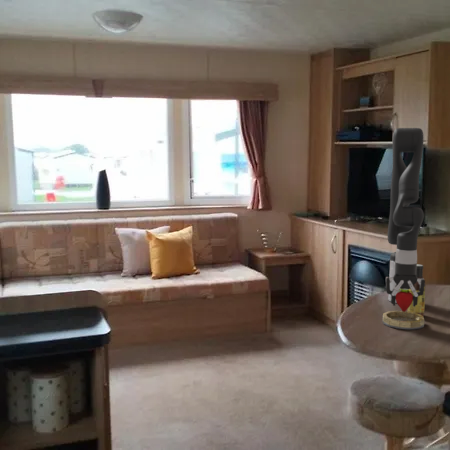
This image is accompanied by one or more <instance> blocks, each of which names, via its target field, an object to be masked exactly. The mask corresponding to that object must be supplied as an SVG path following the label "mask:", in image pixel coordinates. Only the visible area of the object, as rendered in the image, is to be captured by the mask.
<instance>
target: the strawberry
mask: <svg viewBox="0 0 450 450" xmlns="http://www.w3.org/2000/svg"><path fill="white" fill-rule="evenodd" d="M399 290H401V291H398V293H397V294H396V302H397V303H396V304H397V306H398V307H399V308H400V309H401V310H400V311H403V312H405V311H408V308H409V306H410V305H411V303H412V301H413V294H412V293H410V292H411V291H409V290H406V289H405V290H403V289H399Z"/></svg>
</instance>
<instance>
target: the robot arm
mask: <svg viewBox="0 0 450 450" xmlns="http://www.w3.org/2000/svg"><path fill="white" fill-rule="evenodd" d="M423 151H424V131H423V129H422V128H419V127H397V128H395V129H394V130H393V135H392V170H391V171H392V172H391V181H390V182H391V183H390V201H389V202H390V203H389V204H390V205H389V207H390V208H389V217H388V228H387V241H388V243H389V245H393V246H394V245H395V246H396V251H395V252H392V253H391V254H390V256H389V274H388V275H389V276H385V292H386V294H388V299H387V300H388V301H389V302H390V303H391V305H392V306H396V304H397V302H396V294H397V293H398V291H401V290H399V289H403V290H405V289H406V290H408V289H410V288H411V290H412V292H413V294H414V296H413V307H415V305H417V302H418V296H420V295H421V296H422V295H423V292H424V285H425V286H426V280H425V278H424V277H423V278H421V279H419V278H417V277H416V269H417V264H418V249H417V247H418V237H419V233H420V229H421V226H422V224H423V221H424V219H425V218H424V217H425V213H424V210H423V209H422V208H421V207H418V206H417V207H416V206H414V207H413V206H410V204H416V203H417V202H418V200H419V199H420V198H419V195H420V194H419V192H420V188H419V187H420V185H419V184H420V181H419V180H420V172H421V167H422V161H423V160H422V158H423ZM402 153H413V156H412V159H411V161H410V162H409V164H408V165H407V166H406V164H405V162H404V160H403V156H402ZM417 281H418V283H419V285H420V288H419V292H416V290H415V288H414V284H415V283H416V282H417Z"/></svg>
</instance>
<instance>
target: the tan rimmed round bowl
mask: <svg viewBox="0 0 450 450" xmlns="http://www.w3.org/2000/svg"><path fill="white" fill-rule="evenodd" d="M381 320H382V322H383V323H382V324H383V325H384V326H386V327H389V328H392V329H395V328H396V329H395V330H401V329H402V330H403V331H407V330H408V331H417V330H421V329H423V328H424V327H425V318H424V315H423V316H422V315H420V314H417V313H413V312H408V310H406V311H405V312H403V311H402V310H388V311H386V312H384V313H383V312H382V319H381Z"/></svg>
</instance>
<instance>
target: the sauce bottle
mask: <svg viewBox="0 0 450 450" xmlns="http://www.w3.org/2000/svg"><path fill="white" fill-rule="evenodd" d="M423 271H424V265H423V264H418V263H417V269H416V277H417V278H419V279H421V278H423V279H424V275H423ZM414 288H415V290H416V292H419V288H420V285H419V283H418V281H417V282H416V283H415V284H414ZM408 290H409V291H411V292H410V293H412V294H413V292H412V290H411V288H410V289H408ZM413 296H414V294H413ZM425 302H426V284H425V285H424V292H423V295H422V296H421V295H420V296H418V302H417V305H415V307H413V301H412V303H411V305H410V306H409V308H408V309H407V311H408V312H413V313H417V314H420V315H422V316H423V317H424V315H425V309H426V307H425V305H426V303H425Z"/></svg>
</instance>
